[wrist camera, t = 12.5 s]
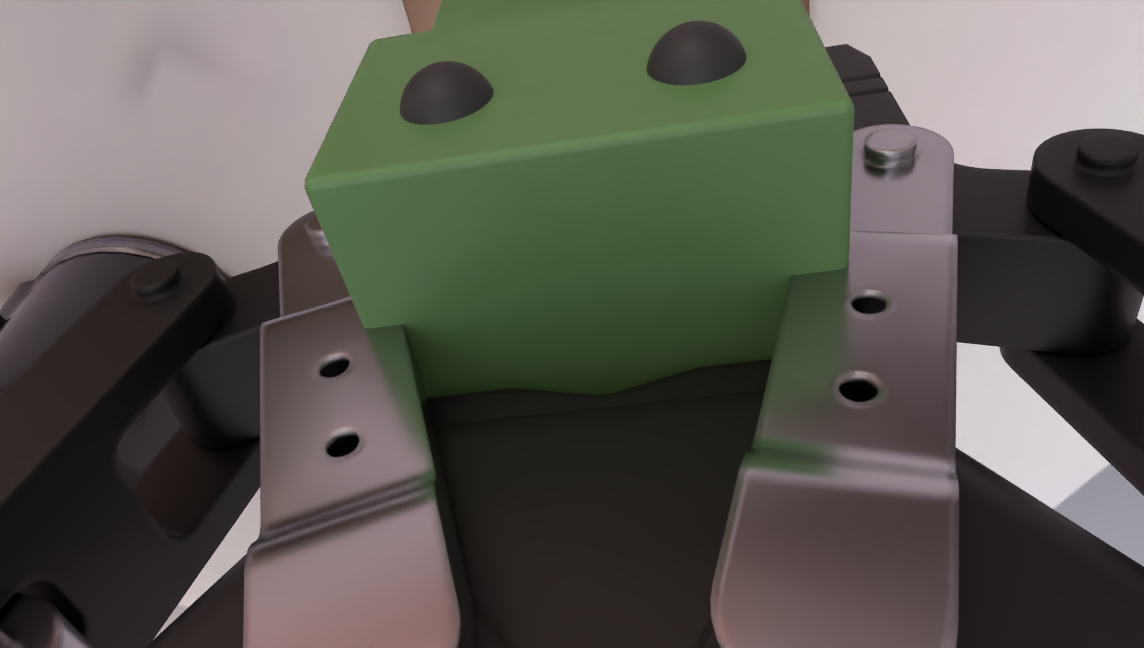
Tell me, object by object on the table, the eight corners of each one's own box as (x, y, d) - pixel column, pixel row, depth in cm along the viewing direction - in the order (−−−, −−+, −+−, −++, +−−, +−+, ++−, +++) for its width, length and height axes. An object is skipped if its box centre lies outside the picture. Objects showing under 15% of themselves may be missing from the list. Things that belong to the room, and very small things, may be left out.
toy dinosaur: (795, 469, 17) (1014, 623, 6) (543, 493, 18) (272, 677, 6) (723, -78, 18) (782, -897, 7) (487, -37, 19) (167, -723, 7)
